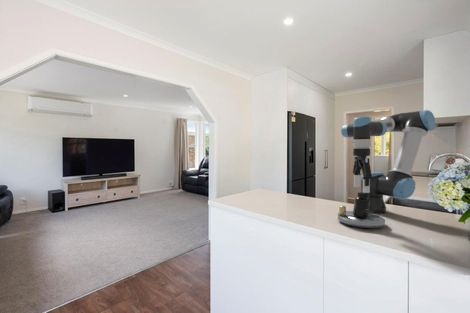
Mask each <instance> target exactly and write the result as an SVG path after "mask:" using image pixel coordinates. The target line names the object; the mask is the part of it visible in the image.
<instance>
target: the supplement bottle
mask: <svg viewBox="0 0 470 313" xmlns="http://www.w3.org/2000/svg"><path fill="white" fill-rule="evenodd" d="M356 195H357V196H356V197H355V198H354V201H353V202H354V203H353V210H352V211H353V215H354V216H357V217H360V218H368V214H369V213H370V212H369V206H370V200H369V199H368V196H369V194H367V193H363V192H361V191H358V192H357V194H356Z"/></svg>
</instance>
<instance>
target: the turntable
mask: <svg viewBox="0 0 470 313" xmlns="http://www.w3.org/2000/svg"><path fill="white" fill-rule="evenodd" d="M338 210H339V211H338V212H337V220H338V222H340V223H343V224H345V225H348V226H352V227H357V228H364V229H380V228H383V227H385V226H386V219H385V218H383V216H380V215H378V214H376V213H375V214H374V213H371V212H369V214H368V218H360V217H357V216H354V215H353V210H347V207H346V206H345V205H339V206H338Z"/></svg>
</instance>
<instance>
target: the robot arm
mask: <svg viewBox="0 0 470 313" xmlns="http://www.w3.org/2000/svg"><path fill="white" fill-rule="evenodd" d="M371 119H372V118H371V117H370V116H359V117H354V119H353V123H351V124H350V123H348V124H344V125H343V126H341V128H340V131H341V133H340V134H341V136H342V137H344V138H353V139H352V144H353V149H352V151H353V152H352V155H353V156H354V162H353V169H352V173H353V187H354V188H360V192H363V193H367V194H369V196H368V199H369V200H370V206H369V213H371V214H374V213H375V214H384V213H386V212H387V207H386V203H385V200H384V196H386V197H391V198H396V199H408V198H410V197H412V195H413V194H414V193H415V190H416V181H415V180H414V179H413V178H414V177H413V175H412V174H411V173H412V170H413V167H414V165H415V161H416V159H417V156H418V152H419V148H420V145H421V143H422V139H423V137H425V136H427V134H428V132H429V131H432V130H434V129H435V127H436V118H435V115H434V113H433V112H432V111H431V110H428V109H426V110H418V111H417V110H416V111H409V112H408V111H407V112H401V113H395V114H392V115H388V116H385V117H382V118H381V119H374V120H371ZM390 132H392V133H394V132H398V133H401V132H402V133H403V136H402V140H401V142H400V146H399V149H398V151H397V155H396V157H395V161H394V163H393V166H392V169H390V170H388V171H387V173H386V175H384V174H385V173H384V172H381V171H380V172H372V171H371V165H370V158H369V157H370V156H371V140H372V139H371V137H381V136H384V135H386V133H390ZM367 157H368V158H367ZM361 172H362V174H361Z"/></svg>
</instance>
